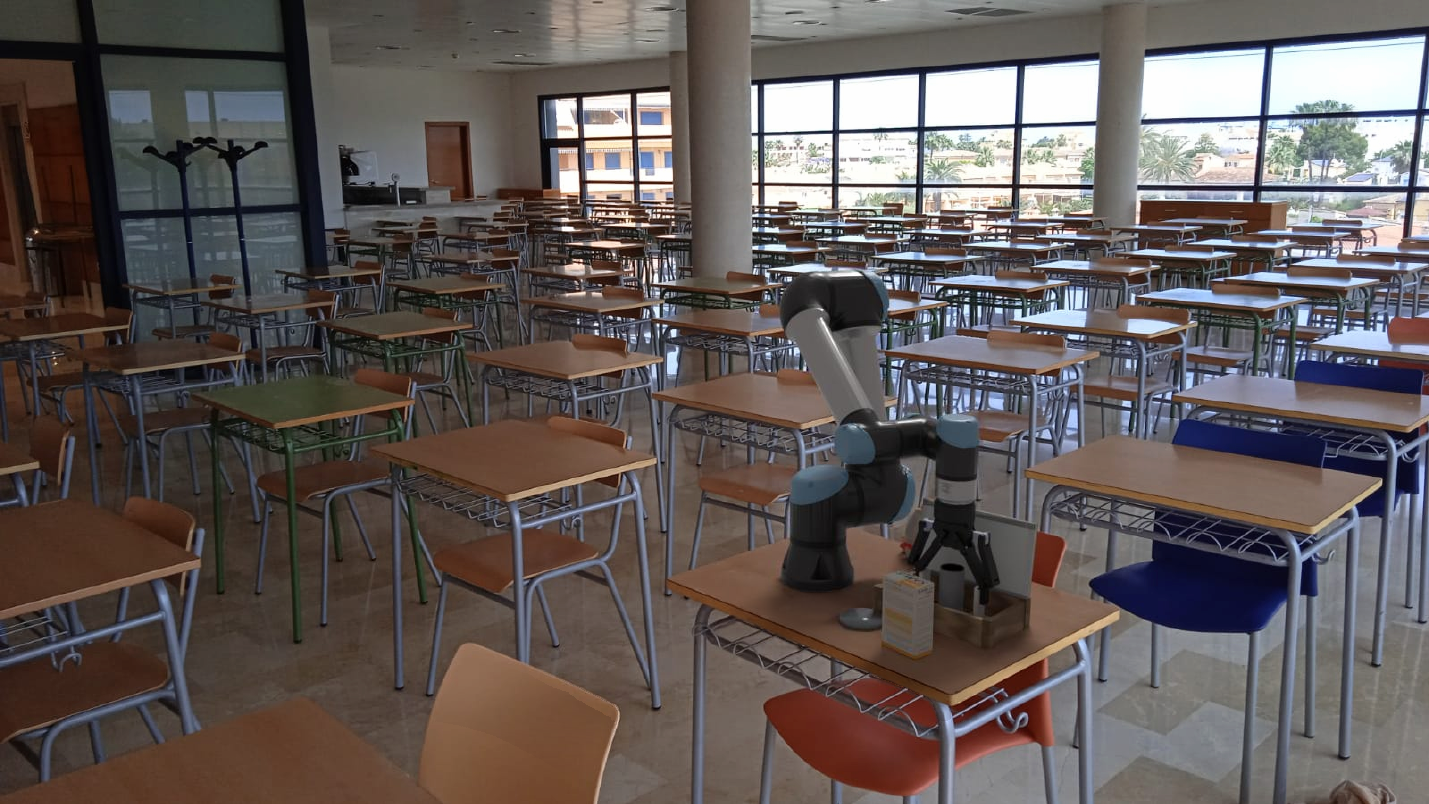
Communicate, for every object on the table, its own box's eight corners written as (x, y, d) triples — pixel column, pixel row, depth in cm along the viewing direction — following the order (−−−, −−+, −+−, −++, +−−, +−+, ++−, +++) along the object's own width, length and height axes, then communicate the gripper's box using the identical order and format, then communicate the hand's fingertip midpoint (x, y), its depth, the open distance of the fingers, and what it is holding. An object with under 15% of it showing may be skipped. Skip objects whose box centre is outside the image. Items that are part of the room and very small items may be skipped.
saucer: (830, 621, 197) (830, 617, 196) (857, 608, 203) (857, 604, 202) (867, 633, 191) (867, 629, 191) (894, 620, 197) (894, 616, 197)
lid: (922, 498, 207) (925, 497, 208) (914, 569, 209) (918, 568, 210) (1034, 524, 191) (1038, 523, 192) (1026, 601, 192) (1029, 599, 193)
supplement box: (933, 653, 183) (936, 582, 180) (914, 660, 180) (916, 588, 177) (899, 637, 189) (901, 568, 187) (880, 644, 186) (882, 574, 184)
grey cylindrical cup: (933, 619, 197) (935, 567, 195) (945, 612, 200) (947, 561, 198) (954, 626, 194) (957, 573, 192) (966, 618, 197) (969, 566, 195)
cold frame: (873, 612, 201) (874, 585, 199) (916, 591, 211) (917, 566, 210) (989, 650, 184) (990, 621, 183) (1029, 625, 194) (1030, 598, 193)
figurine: (943, 558, 230) (941, 508, 226) (921, 569, 226) (919, 518, 222) (912, 545, 237) (910, 497, 233) (891, 555, 233) (888, 506, 230)
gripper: (890, 490, 198) (887, 600, 202) (1002, 516, 182) (996, 635, 186) (912, 483, 203) (908, 589, 208) (1024, 507, 187) (1017, 622, 192)
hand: (950, 611), depth 197 cm, fingers open, 11 cm apart
